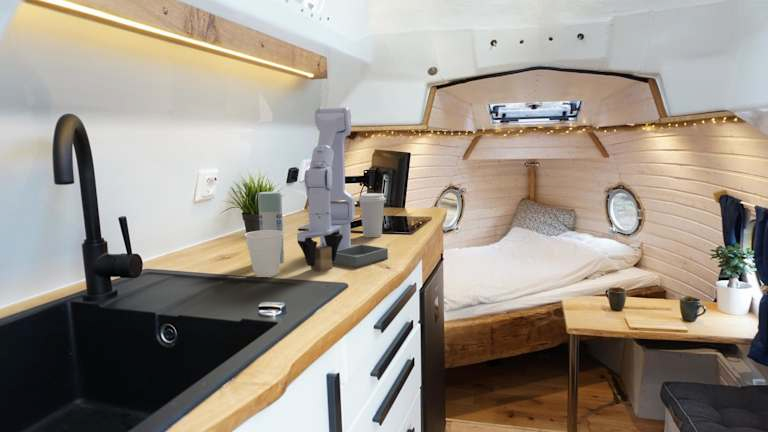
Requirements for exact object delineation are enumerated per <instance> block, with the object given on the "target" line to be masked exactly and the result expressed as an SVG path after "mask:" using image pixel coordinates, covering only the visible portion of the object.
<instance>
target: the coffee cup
mask: <svg viewBox="0 0 768 432" xmlns="http://www.w3.org/2000/svg"><path fill="white" fill-rule="evenodd" d="M385 201H386V198H385V196H384V194H383V193H378V192H374V193H373V192H369V193H368V192H367V193H361V194H360V196H359V197H358V202H359V206H360V207H359V208H360V215H361V216H360V217H361V223H362V224H361V225H362V233H363V234H362V235H363V237H364V238H368V237H375V238H380V236H381V237H382V235H383V220H384V208H385V207H384V206H385Z"/></svg>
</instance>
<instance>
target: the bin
mask: <svg viewBox="0 0 768 432" xmlns="http://www.w3.org/2000/svg"><path fill="white" fill-rule="evenodd" d="M388 249H389V248H387V247H380V246H376V245H375V246H374V245H368V244H357V245H353V246H351V247H349V248H345V249H341V250H337V253H336V258H335V261H332V264H335V265H342V266H346V267H351V268H356V269H357V268H361V267H365V266H367V265H371V264H374V263H377V262H381V261H384V260H387V259H388V258H389V256H388V255H389V251H388ZM388 260H389V259H388Z"/></svg>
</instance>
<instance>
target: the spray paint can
mask: <svg viewBox="0 0 768 432" xmlns="http://www.w3.org/2000/svg"><path fill="white" fill-rule="evenodd" d="M257 205H258V221H259V231H261V230H278V231H282V232H284V226H283V225H284V224H283V222H284V221H283V220H284V219H283V199H282V192H281V191H261V192H258V194H257ZM284 246H285V245H284V237H283V238H282V247H281V255H280V262H279V265H280V264H282V263H284V262H285V250H284Z"/></svg>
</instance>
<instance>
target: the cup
mask: <svg viewBox="0 0 768 432" xmlns="http://www.w3.org/2000/svg"><path fill="white" fill-rule="evenodd" d="M284 234H285V233H284V231H283V232H282V231H278V230H261V231H260V230H254V231H249V232H246V233H244V237H245V240H246V245H247V249H248V253H249V257H250V261H251V266H252V271H253V275H254V276H255V277H256V278H259V277H268V278H273V277H275V276H277V275H278V274H279V272H280V271H279V270H280V264H279V262H280V255H281V247H282V238H283V239H284Z"/></svg>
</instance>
